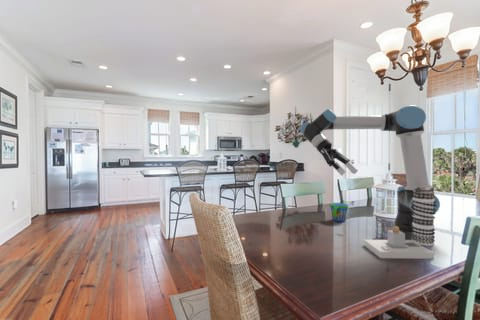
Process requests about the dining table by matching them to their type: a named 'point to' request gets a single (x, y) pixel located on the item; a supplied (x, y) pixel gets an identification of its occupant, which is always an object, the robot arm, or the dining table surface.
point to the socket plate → (398, 250)
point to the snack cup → (339, 211)
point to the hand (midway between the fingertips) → (350, 173)
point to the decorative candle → (423, 216)
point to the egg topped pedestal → (396, 238)
